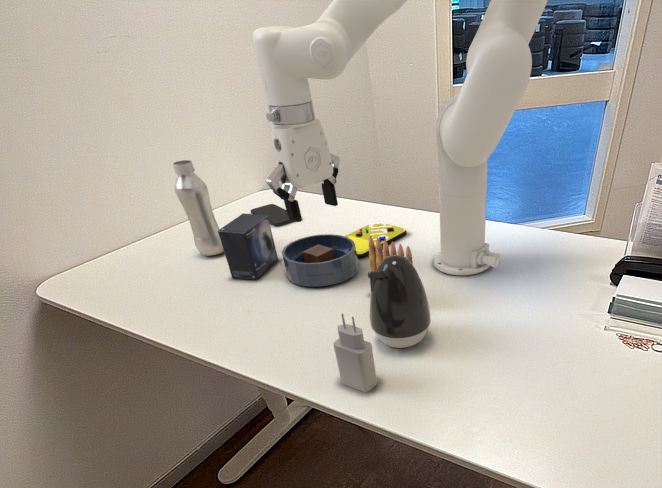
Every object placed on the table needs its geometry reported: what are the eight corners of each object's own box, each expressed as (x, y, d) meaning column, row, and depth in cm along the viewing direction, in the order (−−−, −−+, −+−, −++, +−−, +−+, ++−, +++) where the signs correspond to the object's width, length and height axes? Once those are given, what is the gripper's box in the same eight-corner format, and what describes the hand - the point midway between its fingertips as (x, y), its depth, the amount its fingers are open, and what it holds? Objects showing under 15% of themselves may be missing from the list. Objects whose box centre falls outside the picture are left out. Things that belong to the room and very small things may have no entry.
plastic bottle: (229, 255, 112) (199, 164, 99) (199, 261, 111) (164, 168, 98) (228, 245, 117) (199, 156, 104) (198, 250, 115) (165, 160, 102)
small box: (258, 281, 102) (244, 232, 95) (231, 279, 103) (215, 231, 96) (280, 260, 110) (269, 213, 103) (254, 258, 111) (241, 212, 104)
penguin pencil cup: (360, 340, 83) (346, 257, 73) (404, 317, 89) (397, 237, 79) (398, 364, 78) (389, 278, 68) (443, 338, 83) (441, 254, 73)
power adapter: (351, 371, 77) (339, 305, 69) (379, 381, 74) (369, 314, 67) (339, 382, 75) (325, 315, 67) (367, 393, 72) (355, 325, 65)
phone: (275, 223, 125) (248, 210, 133) (276, 227, 125) (249, 213, 134) (300, 216, 129) (272, 203, 137) (300, 219, 129) (273, 206, 138)
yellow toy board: (362, 260, 108) (361, 253, 107) (326, 250, 113) (325, 244, 112) (409, 233, 120) (408, 227, 119) (374, 225, 124) (374, 219, 123)
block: (336, 268, 104) (333, 248, 101) (321, 276, 101) (317, 256, 98) (322, 263, 106) (318, 244, 103) (307, 271, 104) (302, 251, 101)
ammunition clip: (371, 295, 96) (363, 236, 88) (377, 291, 97) (369, 233, 89) (413, 309, 91) (409, 249, 83) (419, 305, 92) (415, 245, 84)
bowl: (372, 267, 105) (369, 243, 102) (322, 296, 96) (317, 270, 93) (324, 252, 112) (320, 229, 109) (273, 277, 103) (266, 253, 100)
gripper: (267, 126, 78) (293, 230, 89) (342, 106, 88) (357, 202, 99) (239, 123, 81) (267, 223, 92) (314, 104, 92) (332, 196, 103)
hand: (314, 212), depth 96 cm, fingers open, 9 cm apart
